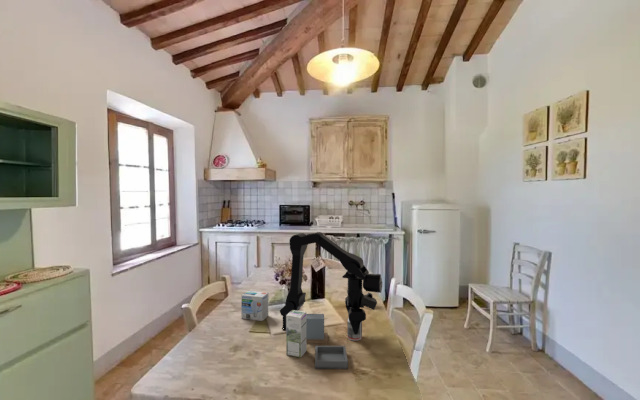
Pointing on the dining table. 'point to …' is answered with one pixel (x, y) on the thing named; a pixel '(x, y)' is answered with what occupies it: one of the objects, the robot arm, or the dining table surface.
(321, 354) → the parts tray
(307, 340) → the mounted unit
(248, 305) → the light bulb box
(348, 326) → the pill bottle
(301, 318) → the syrup box
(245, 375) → the dining table surface
